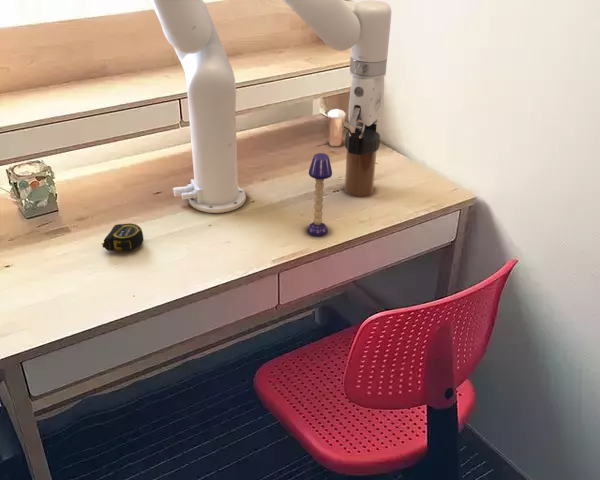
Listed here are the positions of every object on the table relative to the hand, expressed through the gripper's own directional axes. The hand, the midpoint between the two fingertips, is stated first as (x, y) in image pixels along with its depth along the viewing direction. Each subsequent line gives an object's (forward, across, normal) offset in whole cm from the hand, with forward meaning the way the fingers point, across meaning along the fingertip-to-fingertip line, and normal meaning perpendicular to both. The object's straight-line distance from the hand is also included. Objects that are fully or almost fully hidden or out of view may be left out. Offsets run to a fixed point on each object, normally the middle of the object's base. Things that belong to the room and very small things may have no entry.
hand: (361, 146), depth 150 cm
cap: (-2, 0, 0) cm, 2 cm away
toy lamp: (+11, -21, +1) cm, 24 cm away
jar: (+11, 0, 0) cm, 11 cm away
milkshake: (+11, +23, +14) cm, 29 cm away
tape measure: (+11, -44, +34) cm, 56 cm away
